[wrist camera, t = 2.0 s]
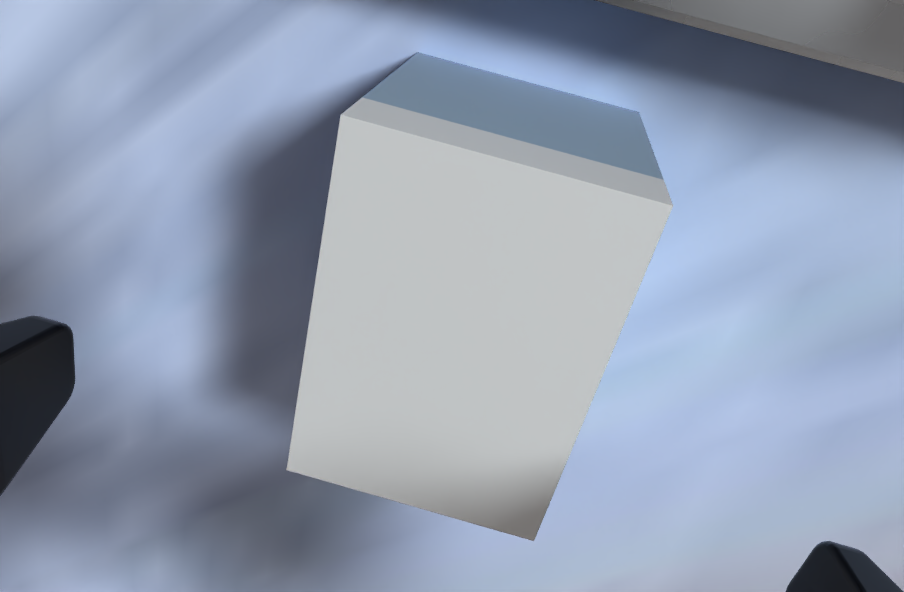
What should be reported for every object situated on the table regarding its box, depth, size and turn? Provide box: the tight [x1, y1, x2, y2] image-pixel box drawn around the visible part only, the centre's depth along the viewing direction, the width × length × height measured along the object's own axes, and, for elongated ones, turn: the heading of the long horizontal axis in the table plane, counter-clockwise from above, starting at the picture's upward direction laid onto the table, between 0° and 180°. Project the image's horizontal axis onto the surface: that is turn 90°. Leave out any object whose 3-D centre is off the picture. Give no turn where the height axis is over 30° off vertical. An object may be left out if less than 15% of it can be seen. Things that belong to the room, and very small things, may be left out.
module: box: [287, 52, 673, 541], centre depth 12 cm, size 4×6×5 cm
